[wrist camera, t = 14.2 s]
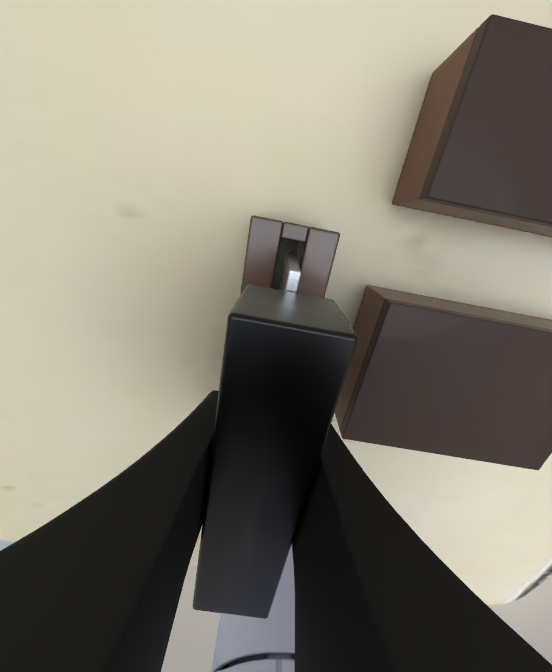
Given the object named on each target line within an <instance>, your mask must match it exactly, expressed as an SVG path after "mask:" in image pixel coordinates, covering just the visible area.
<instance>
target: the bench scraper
mask: <svg viewBox="0 0 552 672" xmlns="http://www.w3.org/2000/svg"><path fill="white" fill-rule="evenodd" d="M300 276H301V271H300V268H299V265H298V262H297V260H296V257H295V254H294V252H293V251H289V250H287V251H286V256H285V262H284V267H283V272H282V277H281V283H280V288H279V290H277V289H272V288H267V287H261V286H256V285H251V284H249V285H246V287H245V289H244V290H243V292H242V294H241V295H240V297H239V299H238V300H237V302H236V304H235V305H234V307H233V309H232V310H231V312H230V314H229V316H228V321H227V329H226V337H225V345H224V353H223V362H222V370H221V378H220V386H219V394H218V403H217V411H216V419H215V427H214V435H213V443H212V452H211V460H210V468H209V476H208V484H207V493H206V501H205V509H204V517H203V525H202V534H201V542H200V550H199V558H198V566H197V574H196V583H195V591H194V600H193V609H195V610H202V611H210V612H217V613H225V614H232V615H240V616H248V617H255V618H263V619H266V618H268V615H269V612H270V609H271V606H272V603H273V600H274V597H275V594H276V591H277V588H278V585H279V581H280V578H281V575H282V572H283V569H284V566H285V563H286V560H287V557H288V554H289V551H290V548H291V544H292V541H293V538H294V535H295V532H296V529H297V526H298V523H299V520H300V517H301V514H302V511H303V507H304V504H305V501H306V498H307V495H308V492H309V489H310V486H311V483H312V480H313V477H314V474H315V471H316V467H317V464H318V461H319V458H320V455H321V452H322V449H323V446H324V443H325V440H326V437H327V434H328V430H329V427H330V424H331V421H332V418H333V415H334V412H335V409H336V406H337V403H338V400H339V397H340V394H341V390H342V387H343V384H344V381H345V378H346V375H347V372H348V369H349V366H350V363H351V360H352V357H353V353H354V350H355V347H356V344H357V341H358V336H357V335H356V333H355V332H354V330H353V329H352V327H351V326H350V324H349V322H348V321H347V319H346V318H345V316H344V315H343V313H342V312H341V310H340V309H339V307H338V306H337V304H336V303H335V301H333V300H331V299H325V298H320V297H315V296H309V295H304V294H299V293H297V290H298V286H299V281H300Z"/></svg>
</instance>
